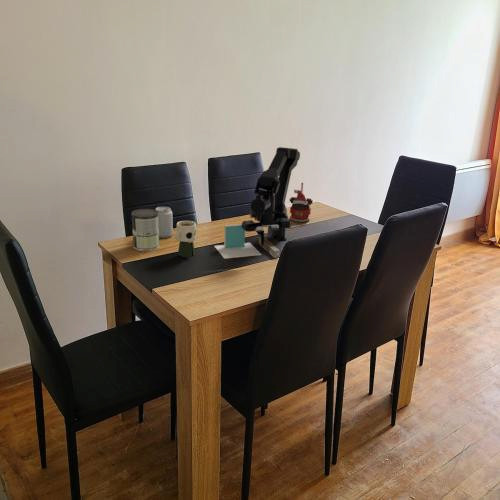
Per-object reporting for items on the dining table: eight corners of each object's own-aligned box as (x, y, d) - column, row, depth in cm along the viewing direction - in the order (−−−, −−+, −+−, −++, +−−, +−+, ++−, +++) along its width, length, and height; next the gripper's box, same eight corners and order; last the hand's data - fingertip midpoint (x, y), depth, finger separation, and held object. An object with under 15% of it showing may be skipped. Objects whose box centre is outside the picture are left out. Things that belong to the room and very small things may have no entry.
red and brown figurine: (312, 218, 243) (315, 181, 237) (309, 223, 235) (312, 186, 228) (290, 216, 246) (292, 179, 239) (287, 221, 237) (289, 184, 231)
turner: (264, 244, 206) (264, 236, 205) (279, 259, 192) (280, 250, 191) (258, 245, 205) (259, 237, 204) (273, 259, 191) (274, 251, 190)
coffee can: (127, 247, 199) (125, 212, 194) (146, 240, 207) (145, 207, 202) (145, 253, 193) (144, 218, 188) (165, 246, 201) (164, 212, 196)
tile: (243, 245, 203) (243, 223, 200) (244, 246, 201) (245, 224, 198) (224, 247, 200) (224, 225, 197) (225, 248, 199) (225, 226, 196)
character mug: (184, 262, 186) (183, 228, 181) (169, 257, 190) (168, 224, 185) (203, 254, 194) (203, 221, 190) (189, 250, 198) (188, 218, 193)
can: (169, 239, 209) (168, 211, 204) (152, 237, 210) (151, 210, 206) (175, 233, 215) (174, 206, 211) (158, 232, 217) (157, 205, 212)
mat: (249, 244, 206) (249, 242, 206) (261, 256, 194) (261, 254, 194) (214, 247, 201) (214, 245, 201) (224, 260, 189) (224, 258, 189)
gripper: (281, 200, 206) (279, 236, 212) (237, 203, 200) (236, 240, 206) (292, 207, 197) (289, 245, 202) (247, 211, 191) (245, 249, 196)
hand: (265, 244), depth 202 cm, fingers closed on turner, 2 cm apart
